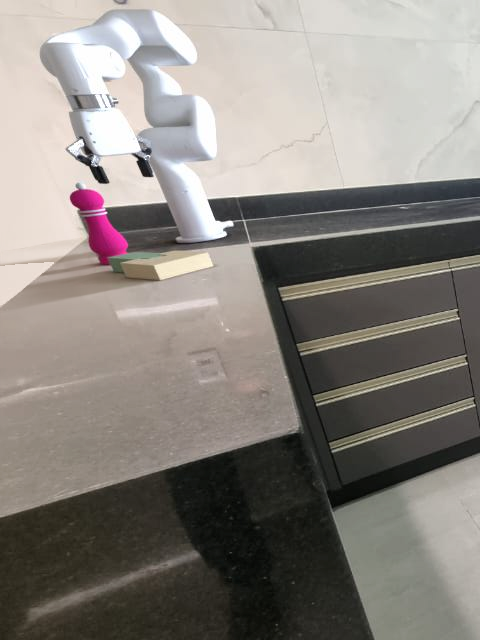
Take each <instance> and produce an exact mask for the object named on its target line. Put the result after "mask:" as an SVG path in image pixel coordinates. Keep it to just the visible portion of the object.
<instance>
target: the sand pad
mask: <svg viewBox="0 0 480 640" xmlns="http://www.w3.org/2000/svg"><path fill="white" fill-rule="evenodd" d="M158 255H163V256H162V257H158V258H153V259H135V260H130V261H126V262H122V263H120V264H121V266H122V268H123V271H124V272H123V273H124V275H125V277H126V278H128V279H129V278H130V279H131V278H132V279H141V280H142V279H143V280H153V281H164V280H167V279H171V278H174V277H179V276H182V275H186V274H189V273H192V272H197V271H200V270H204V269H208V268H212V267H214V264H213V261H212V259H211V257H210V255H209V252H207V251H193V250H192V251H191V250H178V249H174V250H170V251H165V252H162V253H161V254H158Z"/></svg>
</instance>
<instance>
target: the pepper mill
mask: <svg viewBox="0 0 480 640" xmlns="http://www.w3.org/2000/svg"><path fill="white" fill-rule="evenodd" d="M74 186H75V188H76V190H74V191H72V192H71V194H69V201H70V203H71V205H72V206H73V207H75V208H77V209H78V213H79V215H80V217H82V218H83V219H84V220H85V222H86V224H87V229H88V240H87V241H88V246H89V249H90V250H91V251H92V252H93V253H95V254H97V255H99V257H97V259H98V261H99V263H100V265H102V266H103V265H104V266H109V265H110V263H109V260H108V257H113V256H117V255H122V254H127V253H129V252H127V249H128V247H129V243H128V242H127V239H126V238H125V237H124V236H123V235H122V234H121V233H120V232H118V230H117V229H116V228H114V226H113V225H112V224H111V223H110V221H109V219H108V217H107V214H108V212H107V211H106V208H105V207H104V204H105V199H104V197H103V196H102V194H101V193H99V191H96V190H94V189H90V188H87V185H86V184H85V183H82V182H77V183H75V185H74ZM110 266H111V265H110Z"/></svg>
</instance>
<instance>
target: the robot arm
mask: <svg viewBox="0 0 480 640" xmlns="http://www.w3.org/2000/svg"><path fill="white" fill-rule="evenodd" d="M39 59H40V62H41V64H42V66H43V68H44V69H45V70H46V71H47V72H48V73H49V74H50V75H51V76H53V77H55V78H56V79H57V81H58V83H59V85H60V87H61V89H62V91H63V93H64V95H65V98H66V100H67V102H68V104H69V107H70V108H71V110H72V111H68V117H69V121H70V124H71V128H72V131H73V133H74V136H75V139H76V140H75V141H73V142H72V143H71V144H69V145H68V146H66V147H65V151H66V152H67V153H68V154H69V155H70V156H72V157H73V158H74V159H75V160H76V161H78V162H80V163H81V164H84V166H86V167H88V168H89V170H90V172H91V174H92V177H93V178H94V180H95V181H97V184H100V185H108V184H110V180H109V178H108V176H107V174H106V171H105V169H104V167H103V166H102V165H99V164H100V161H101V159H102V158H105V157H115V156H124V155H125V156H126V155H131V156H132V157H134V158H135V159H137V160H136V165H137V167H138V170H139V171H140V174H141V176H142V178H154V177H156V180H157V182H158V184H159V186H160V189H161V192H162V193H163V196H164V199H165V200H166V201H165V202H166V203H167V206H168V208H169V211H170V213H171V215H172V218H173V220H174V223H175V225H176V226H177V229H178V232H179V234H180V236H177V237H176V238H175V241H176V243H179V244H193V243H203V242H207V241H213V240H218V239H222V238H224V237H227V235H228V233H227V231H225V229H227V228H232V227H234V222H233V221H232V220H226V221H220V220H216V219H215V217H214V214H213V211H212V208H211V207H210V204H209V201H208V198H207V195H206V193H205V191H204V188H203V186H202V181H201V180H200V178H199V176H198V175H197V174H196V172H194V171H193V170H192V169H191V168H190V167H188V166H187V165H185V163H197V162H207V161H212V160H214V159H215V158H216V157H217V154H218V153H217V152H218V151H217V150H218V147H217V145H218V144H217V133H216V132H217V131H216V121H215V115H214V113H213V110H212V108H211V106H210V104H209V103H208V102H207V100H205V98H203V97H201V96H199V95H197V94H182V93H183V92H182V88H181V86H180V83H178V82H177V81H176V80H175V79H174V78H173V77H171V76H170V75H169V74H168V73H166V72H164V71H163V70H161V69H160V68H159V67H180V66H181V67H182V66H183V67H184V66H186V67H188V66H192V65H194V64H195V63H196V62H197V60H198V54H197V50H196V48H195V46H194V43H193V42H192V41H191V40H190V38H189V37H188V36H187V35H186V34H185V33H184V32H183V30H181V29H180V28H179V27H178V26H177V25H176V24H175V23H173V22H172V21H171V20H170V19H169V18H168V17H166V16H165V15H163V14H162V13H160V12H159V11H156V10H153V9H147V8H142V9H140V8H137V9H134V8H131V9H130V8H116V9H110V10H108V11H106V12H104V13H103V14H102V15H101V16H100V17H98V19H96V21H94V22H93V23H92V24H89V25H86V26H82V27H78V28H75V29H72V30H71V29H70V30H69V31H68V30H67V31H64V32H61V33H58V34H55V35H53V36H51V37H49V38H48V39H46V40H45V42H43V43H42V44H41V46H40V49H39ZM126 60H127V61H128V63H129V65H130V66H131V68H132V69H133V71H134V73H135V74H136V75H137V77H138V78H139V80H140V81H141V83H142V90H143V91H142V92H143V113H144V116H145V119H146V122H147V123H148V124H149V126H151V127H148V128H144V129H142V130H140V131H139V132H138V133H137V135H136V134H135V133H134V131H133V129H132V127H131V125H130V124H129V122H128V121H127V119H126V118H125V117H124V114H123V113H122V112H121V111H120V109H116V105H118V104H119V100H118V99H117V98H116V97H112V95H111V94H110V92H109V91H108V89H107V86H106V84H105V82H104V81H113V80H118V79H121V78H122V77H123V76H124V75H125V72H126V65H125V62H124V61H126ZM80 150H81V152H82V153H81V152H80ZM82 154H84V155H82ZM153 173H154V174H153ZM154 175H155V176H154Z"/></svg>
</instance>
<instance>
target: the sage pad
mask: <svg viewBox="0 0 480 640" xmlns="http://www.w3.org/2000/svg"><path fill="white" fill-rule="evenodd" d="M158 254H161V253H160V252H148V251H147V252H145V251H132V252H128V253H127V254H122V255H117V256H113V257H108V260H109V263H110V266H111V268H112V271H113V272H115V273H124V271H123V268H122V266H121V264H120V263H122V262H126V261H130V260H135V259H153V258H158V257H162V256H163V255H158Z"/></svg>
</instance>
